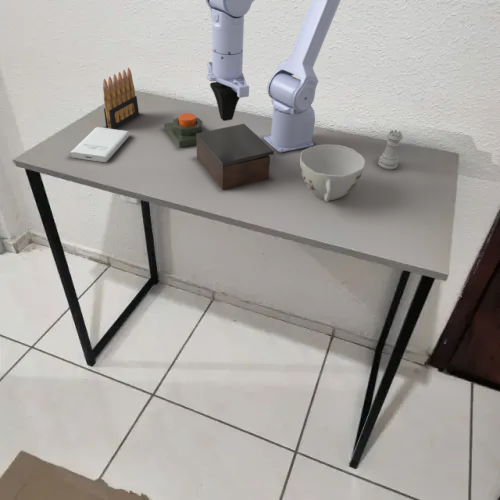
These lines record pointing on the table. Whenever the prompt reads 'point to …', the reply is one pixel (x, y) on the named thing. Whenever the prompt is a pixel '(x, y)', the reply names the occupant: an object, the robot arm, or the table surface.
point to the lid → (234, 144)
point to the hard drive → (100, 144)
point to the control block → (184, 132)
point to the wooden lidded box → (233, 169)
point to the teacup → (331, 170)
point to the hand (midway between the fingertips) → (226, 119)
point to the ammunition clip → (119, 100)
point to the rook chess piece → (391, 151)
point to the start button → (187, 119)
